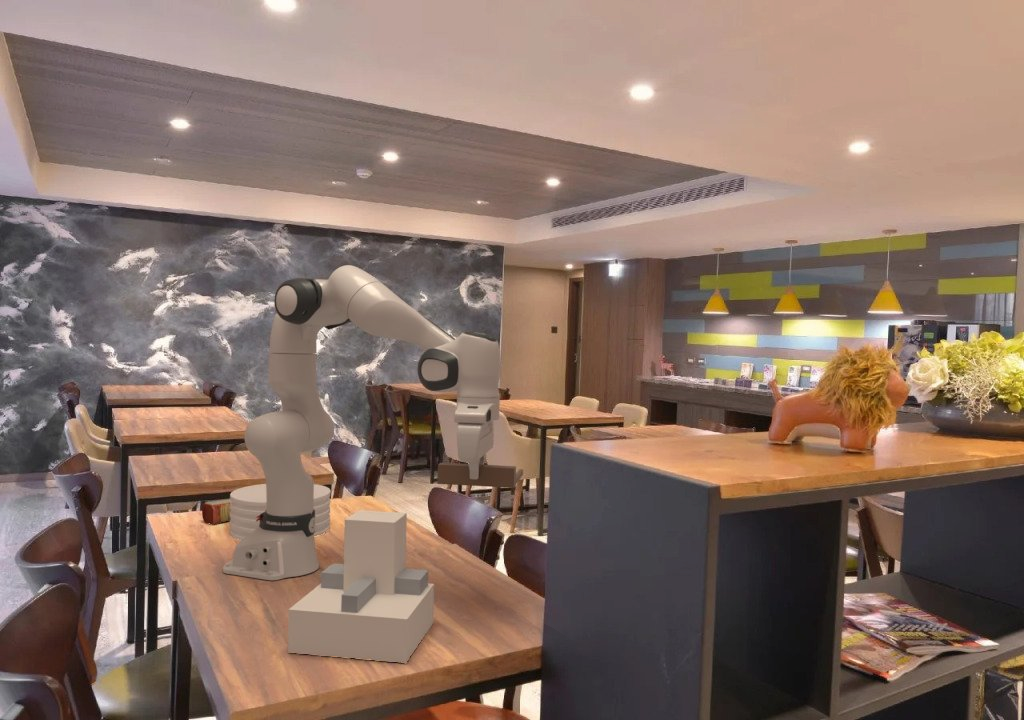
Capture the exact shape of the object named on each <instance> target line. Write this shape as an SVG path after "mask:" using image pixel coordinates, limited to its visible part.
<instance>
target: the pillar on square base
mask: <svg viewBox="0 0 1024 720" xmlns="http://www.w3.org/2000/svg"><path fill="white" fill-rule="evenodd" d="M407 516H408V515H407V512H397V511H395V512H394V511H380V510H379V511H378V510H363V509H362V510H361V509H359V510H357V511H356V512H354V513H352V514H351V515H350V516H348V517H346V518H345V519H344V533H343V534H344V539H343V540H344V541H343V563H331V565H329V566H327V568H325V569H324V570H323V571H321V572H320V584H318V585H317V586H316V587H315V588H313V589H312V590H311V591H310V592H308V593H307V594H306V595H304V596H303V597H302V598H301V599H300V600H299V601H297V602H296V603H295V604H293V606H291V607H289V609H288V622H287V623H288V624H287V625H288V626H287V627H288V629H287V631H288V633H287V635H288V636H287V640H288V641H287V653H288V652H291V653H303V654H316V655H323V656H324V655H325V656H337V657H347V658H361V659H371V660H379V661H389V662H390V661H391V662H401V663H406V662H407V661H408V659H409V658H410V656H411V655H412V653H413V652H414V650H415V649H416V647H417V646H418V644H419V643H420V642H421V643H422V641H423V640H424V638H425V637H424V636H426V635H427V634H428V632H429V630H430V629H431V627H432V625H433V624H434V614H435V613H434V609H435V608H434V606H435V605H434V604H435V602H434V601H435V584H434V583H429V570H427V569H417V568H416V569H415V568H407V566H406V564H407V563H406V561H407V519H408V517H407ZM425 634H426V635H425ZM423 637H424V638H423ZM422 639H423V640H422ZM421 640H422V641H421ZM421 643H420V644H421ZM420 644H419V645H420ZM418 647H419V646H418ZM418 647H417V648H418ZM416 650H417V649H416ZM416 650H415V651H416ZM414 653H415V652H414ZM414 653H413V654H414ZM412 656H413V655H412ZM412 656H411V657H412ZM410 659H411V658H410ZM410 659H409V660H410ZM408 662H409V661H408ZM408 662H407V663H408Z"/></svg>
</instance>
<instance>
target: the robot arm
mask: <svg viewBox="0 0 1024 720" xmlns="http://www.w3.org/2000/svg"><path fill="white" fill-rule="evenodd" d="M274 308H275V312H276V314H275V316H274V318H273V322H272V325H271V331H270V337H269V350H268V351H269V353H268V357H269V358H268V385H269V386H270V388H271V389H272V391H274V392H276V394H277V395H278V397H279V399H280V402H281V408H282V409H281V411H271V412H267V413H264V414H261V415H259V416H257V417H255V418H252V419H251V420H250V421H249V422H248V424H247V425H246V427H245V430H244V436H243V437H244V438H243V439H244V443H245V447H246V449H247V450H248V452H249V453H250V454H252V456H254V457H255V458H256V459H257V460H258V462H259V464H260V466H261V468H262V471H263V474H264V478H265V479H264V480H265V484H266V510H265V512H263V513H262V514H260V516H257V517H256V518H258V519H257V520H256V521H259V520H260V524H259V527H258V528H256V529H255V530H254V531H252V532H251V533H250V534H249V535H247V536H246V537H245V538H243V539H242V540H241V541H240V540H239V542H237V544H236V546H235V549H234V551H233V554H232V555H233V556H232V559H230V560H229V561H227V562H226V563H225V564H224V565H223V567H222V573H223V574H228V575H235V576H238V577H239V576H241V577H247V578H251V579H252V578H253V579H259V580H266V581H278V580H283V579H285V578H292V577H293V578H294V577H299V576H304V575H309V574H311V573H313V572H316V571H317V570H319V569H320V563H319V560H318V556H317V550H316V544H315V538H314V533H315V510H314V509H313V501H314V484H315V482H314V481H315V480H314V478H313V476H312V475H311V474H310V473H308V472H307V471H305V469H304V465H303V462H302V457H301V454H305V453H309V452H314V451H316V450H318V449H320V448H323V447H324V446H325V445H327V444H329V443H330V442H331V440H332V439H333V437H334V434H335V424H334V420H333V418H332V417H331V415H330V414H329V413H328V412H327V411H326V410H325V409H324V406H323V404H322V401H321V398H320V395H319V390H318V387H317V339H318V334H319V332H320V331H321V330H322V329H324V328H325V329H327V330H333V329H334V328H338V327H341V326H344V325H348V324H349V323H353V324H354V325H355V326H356V327H358V328H359V329H361V330H362V331H364V332H366V333H368V334H369V335H371V336H374V337H377V338H383V339H391V340H397V341H403V342H406V343H410V344H413V345H415V346H417V347H419V348H420V349H422V350H423V351H424V352H422V354H421V356H420V358H419V360H418V362H417V377H418V379H419V382H420V384H421V385H422V386H423V387H424V388H425V389H426V390H428V391H430V392H436V393H447V392H448V393H452V392H453V393H454V392H456V409H455V412H454V415H453V416H454V417H453V418H454V419H453V420H454V423H457V425H456V442H457V443H456V444H457V445H456V446H457V456H458V460H459V462H464V463H465V462H466V463H467V464H469V470H470V479H478V478H479V476H480V475H479V474H480V470H479V464H480V465H485V461H486V454H487V453H489V451H491V450H492V449H493V448H494V447H493V446H494V441H495V440H494V439H495V438H494V430H495V429H494V421H497V420H499V419H500V403H501V402H500V400H501V399H500V395H501V394H500V391H499V382H500V381H499V380H500V377H501V353H500V352H501V351H500V350H501V349H500V344H499V342H498V340H497V338H496V337H494V336H493V335H492V334H489V333H484V332H479V331H473V330H472V331H471V330H469V331H468V330H467V331H464V332H461V334H460V335H459V336H458V337H456V338H455V337H453V336H452V335H451V334H450V333H448V332H446V330H444V329H442V328H441V327H439V326H438V325H437V324H436V323H434V322H433V321H431V320H430V319H428V318H427V317H425V316H424V315H422V314H421V313H419V312H418V311H417V310H416V309H415V308H413V307H412V306H410V305H409V304H408V303H406V302H405V301H404V300H403V299H401V298H400V297H399V296H398V295H397V294H395V292H394V291H392V290H391V289H390V288H389V287H388V286H386V285H385V284H384V283H382V281H380V280H379V279H377V278H376V277H375V276H373V275H371V274H370V273H368V272H367V271H365V270H363V269H362V268H359V267H357V266H354V265H353V264H352V265H350V264H347V265H346V264H345V265H342V266H340V267H338V268H336V269H335V270H334V271H333V272H332V273H331V274H330V276H329V277H328V278H327V279H323V278H316V279H315V278H304V277H298V278H297V277H296V278H291V279H288V280H285V281H283V282H282V283H281V284H279V285H278V287H277V289H276V290H275V294H274Z"/></svg>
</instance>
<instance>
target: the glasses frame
mask: <svg viewBox="0 0 1024 720" xmlns="http://www.w3.org/2000/svg"><path fill="white" fill-rule="evenodd" d="M479 470H480V474H479V475H480V476H479V478H478V479H470V470H469V464H468V463H460V462H459V463H457V462H440V463H438V464H437V485H454V486H470V487H489V488H492V487H493V488H507V489H508V488H512V489H514V488H516V485H517V484H518V482H519V481H520V479H521V478H522V477H523V475H524V469H523V468H522V469H521V468H519V469H518V471H517V466H516V465H515V466H514V465H495V464H484V465H480V464H479Z"/></svg>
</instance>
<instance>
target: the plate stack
mask: <svg viewBox="0 0 1024 720" xmlns="http://www.w3.org/2000/svg"><path fill="white" fill-rule="evenodd" d="M331 492H332V491H331V489H330V488H329V487H327V486H325V485H321V484H318V483H316V484H315V483H314V501H313V509H314V510H315V533H314V536H317V535H321V534H323V533H324V532H326V531H327V530H328V529H329V528H330V529H331V523H330V522H331V514H330V513H331V506H330V505H331V498H330V497H331ZM229 499H230V500H231V502H230V509H231V511H230V518H231V519H230V521H229V526H230V528H229V536H230V535H231V536H232V537H231V536H230V537H231V538H233V539H235V538H236V539H235V540H237V539H239V540H238V541H240V540H242V539H243V538H245V537H246V536H247V535H249V534H250V533H251V532H252V531H254V530H255V529H256V528H258V527H259V524H260V520H259V521H256V520H257V519H258V518H256V517H257V516H260V514H262V513H263V512H265V510H266V483H261V484H253V485H252V484H251V485H248V486H243V487H240V488H237V489H234V490H233V491H231V493H230V494H229ZM321 536H322V535H321Z"/></svg>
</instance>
